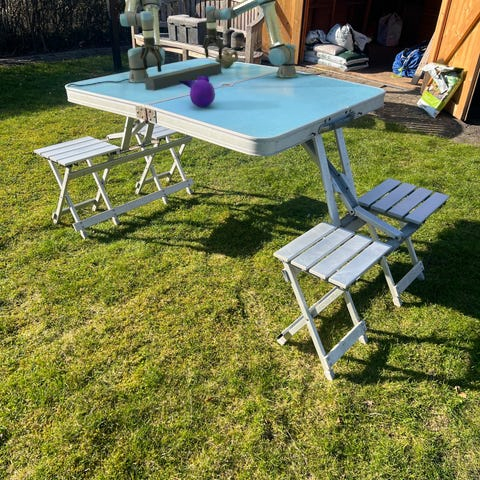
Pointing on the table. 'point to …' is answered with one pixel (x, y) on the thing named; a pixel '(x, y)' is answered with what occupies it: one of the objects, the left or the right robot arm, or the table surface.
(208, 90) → the toy
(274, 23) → the right robot arm
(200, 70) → the wide block
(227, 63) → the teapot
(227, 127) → the table surface
